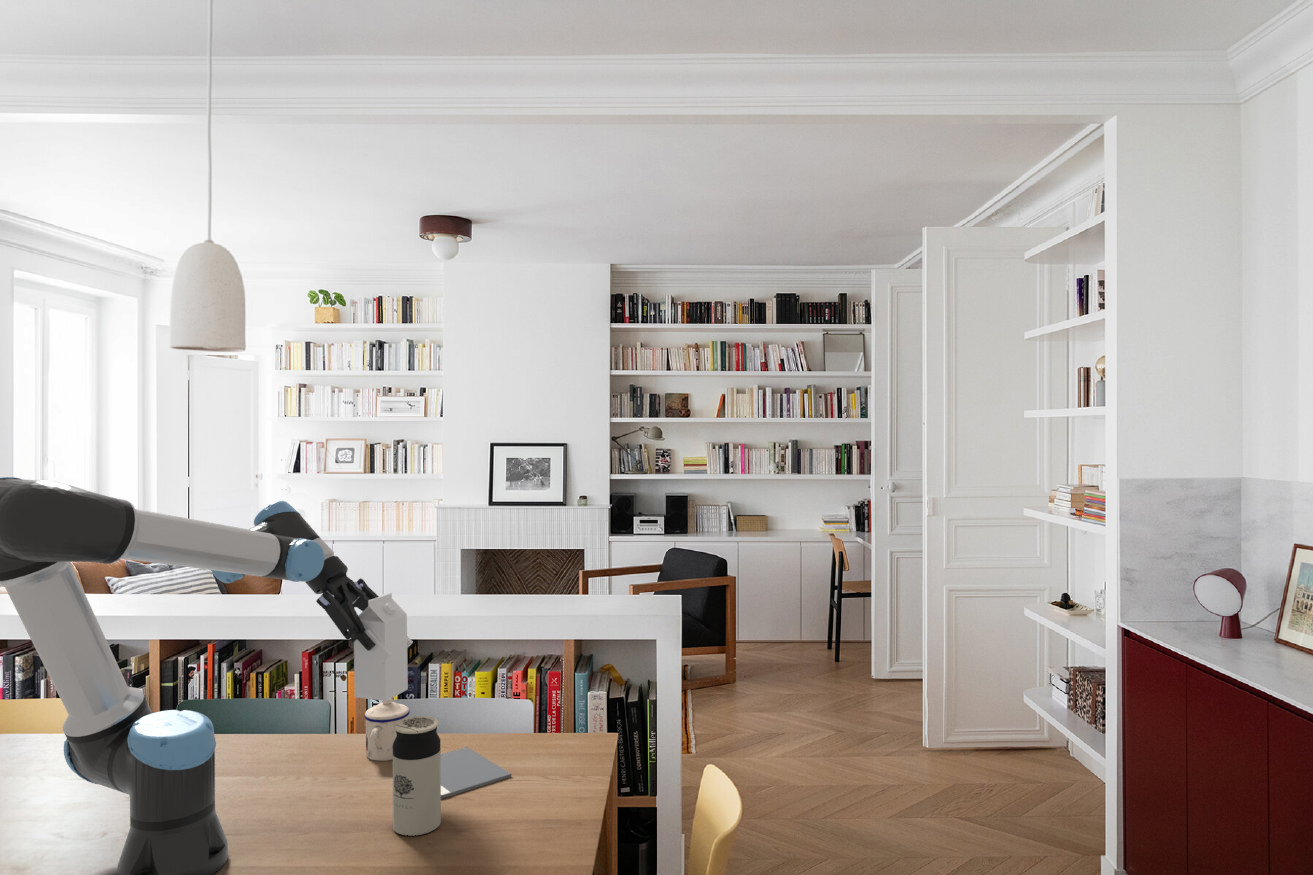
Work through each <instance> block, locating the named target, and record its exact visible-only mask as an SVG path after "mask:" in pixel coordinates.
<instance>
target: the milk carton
mask: <svg viewBox="0 0 1313 875" xmlns="http://www.w3.org/2000/svg"><path fill="white" fill-rule="evenodd" d="M392 594H393V592H389V593H386V594H383V595H381V596H379V597H377V598H374V599H371V600H368V607H367V608H366V609H365V610H364V611H361V612H360V614H358V616H359V618H360V620H361V622H362V624H363V626H364V628H365V631H364V632H366V631H367V630H368V629H370V631H371V632H372V633H373V634H374V635H375V636H376V637H377V638H378V639H379V641H380V642H381V643H382V644H383V645H384V646H385V647H386V648H387V649H388V651H389V652H390V653H391V654H392V655H391V656H390V657H389V658H388V659H387V660H386V661H385V662H384V663H383V664H382V665H380V664H379V663H378V662H377V660H376V659H375V658H374V657H373V656H372V655H371V654H370V653H369V652H368V650H366V649H365V647H364V646H363V645H362V644H361V643H360V642H359V641H358V640H356V641H355V642H353V661H354V662H353V672H354V673H353V674H354V678H353V679H354V698H358V699H366V700H367V699H368V700H374V701H375V700H376V701H381V702H382V701H387V700H389V699H393V698H394V697H396V696H398V695H400V694H402V693H404V692H406V691H408V690H409V689H408V688H409V684H408V683H409V682H408V678H409V676H408V675H409V674H408V671H409V670H408V669H409V668H408V648H407V636H408V615H407V613H406V612H405V610H403V608H402V607H401V606H400V605H399V604H398V603H397V602H396V601H395V600H394V599H393V598H392V596H393V595H392Z"/></svg>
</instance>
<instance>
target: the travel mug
mask: <svg viewBox="0 0 1313 875" xmlns="http://www.w3.org/2000/svg"><path fill="white" fill-rule="evenodd" d="M439 725H440V722H439V720H438V719H437V718H435V717H433V716H427V715H421V716H419V715H418V716H417V715H416V716H410V717H409V716H408V718H405V719H402V720H400V721H398V722H397V723H396V724H395V725H394V729H395V730H396V734H397V737H396V739H395V740H394V742H393V760H392V822H393V823H392V828H393V831H394V832H395V833H397V834H400V835H403V836H407V835H408V836H409V837H414V836H415V835H416V836H421V835H425V834H428V833H431V832H432V831H434V830H436V829H437V828H438V827H440V825H441V822H442V802H441V801H442V799H441V754H442V753H441V752H442V751H441V737H440V736H439V734H438V732H437V730H438V727H439ZM416 836H415V837H416Z"/></svg>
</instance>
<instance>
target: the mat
mask: <svg viewBox="0 0 1313 875" xmlns="http://www.w3.org/2000/svg"><path fill="white" fill-rule="evenodd" d="M509 778H512V773H511V772H509V771H507V770H506V769H504V767H501V766H499V765H497V764H496V763H494V762H492V761H491V760H489V759H488V758H486V757H485V756H483V755H481V754H480V753H478V752H476V751H475V750H473V749H472V748H469V747H468V746H466V747H463V748H459V749H456V750H451V751H447V752H445V753H441V800H442V799H446V798H448V797H451V796H455V795H458V794H462V793H465V792H468V791H471V790H473V789H476V788H477V789H478V788H482V787H483V786H486V785H489V784H493V783H496V782H499V781H502V780H505V779H509Z"/></svg>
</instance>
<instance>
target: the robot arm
mask: <svg viewBox="0 0 1313 875" xmlns="http://www.w3.org/2000/svg"><path fill="white" fill-rule="evenodd" d="M253 525H254V526H253V527H251V528H248V529H247V528H241V527H236V526H231V525H225V524H220V523H214V522H209V521H204V520H199V519H192V518H187V517H182V516H177V515H171V514H166V513H162V512H161V513H160V512H155V511H149V510H144V509H139V508H135V506H134V504H133V503H132V502H131V501H129V500H127V499H122V498H117V497H112V496H108V495H105V494H100V493H97V492H92V491H89V490H86V489H84V488H79V487H77V486H73V485H70V484H66V483H63V482H59V481H55V480H47V479H46V480H44V479H42V480H41V479H23V478H18V477H15V476H4V477H3V476H1V477H0V586H1V587H4V589H5V590H6V593H7V594H8V597H9V598H10V601H11V603H12V604H13V607H14V608H15V610H16V612H17V614H18V617H19V618H20V621H21V622H22V625H23V627H24V628H25V630H26V632H27V634H28V637H29V638H30V640H31V643H32V645H33V646H34V649H35V651H36V652H37V655H38V656H39V658H40V661H41V663H42V664H43V667H44V668H45V671H46V672H47V674H48V676H49V678H50V680H51V683H52V684H53V686H54V689H55V690H56V692H57V694H58V696H59V699H60V701H61V703H62V704H63V706H64V707H63V708H65V710H66V712H67V717H66V719H65V721H64V722H63V724H62V732H63V734H64V735H65V737H66V740H65V741H64V742H63V754H64V760H65V762H66V764H67V766H68V767H69V768H70V770H71V771H72V772H73V773H75V774H76V775H77V776H78V777H80V778H81V779H82V780H85V781H86V782H88V783H91V784H94V785H95V784H96V785H99V786H103V787H106V788H108V789H112V790H114V791H117V792H121V793H123V794H127V795H128V796H129V815H130V816H129V817H130V821H129V826H130V827H129V831H128V834H127V836H126V840H125V842H124V846H123V848H122V852H121V854H120V857H119V860H118V862H117V867H116V868H117V870H116V872H117V875H214V874H215V873H217V872H218V871H219V870H221V869H222V868H223V866H224V865H225V864H226V863H227V860H228V858H229V844H228V839H227V836H226V834H225V832H224V829H223V826H222V824H221V821H220V819H219V817H218V814H217V810H216V764H215V763H216V761H215V760H216V759H215V758H216V757H215V756H216V752H215V751H216V747H217V746H216V745H217V742H216V737H215V730H214V729H215V728H214V724H213V722H212V721H211V719H210V717H208V716H206V715H205V714H203V713H201V712H198V711H194V710H188V709H183V710H181V711H180V710H178V709H169V710H168V709H166V710H161V711H156V712H153V711H152V709H151V707H150V705H149V702H148V701H147V698H146V696H145V694H144V692H143V690H142V689H140V688H137V687H132V686H129V685H128V684H127V682H126V679H125V677H124V675H123V673H122V671H121V669H120V667H119V664H118V661H116V658H115V655H114V653H113V651H112V649H111V647H110V645H109V643H108V640H107V639H106V636H105V634H104V632H103V630H102V628H101V624H99V621H98V620H97V617H96V614H95V613H94V610H93V609H92V606H91V604H90V602H89V600H88V597H87V595H86V592H85V591H84V589H83V586H82V585H81V583H80V580H79V578H78V576H77V574H76V571H75V569H74V567H73V565H72V562H75V563H81V562H83V563H95V564H96V563H98V564H103V565H104V564H106V565H112V564H113V565H114V564H115V563H117V562H119V561H120V560H121V559H122V560H131V561H137V562H145V563H153V564H161V565H167V566H169V565H170V566H176V567H185V568H192V569H200V570H209V571H211V573H212V574H213V576H214V577H215V578H216V579H217V580H219V581H220V582H222V583H223V584H231V583H234V582H236V581H238V580H239V581H240V580H242V579H243V578H244V577H246V576H254V577H262V578H270V579H277V580H285V581H291V582H295V583H296V582H297V583H299V582H304V583H305V584H306V585H307V586H308V587H309V589H310V590H312V591H313V593H314V594H316V595H320V596H319V597H318V598H317V599H316V603H317V604H318V605H319V606H320V607H321V608H322V609H323V610H324V611H325V613H326V614H327V615H328V616H329V618H330V619H331V621H332V622H333V624H334V625H335V626H336V628H337V629H338V630H339V631H340V633H341V635H342V636H343V638H345V639H346V640H349V641H350V642H351V643H354V642H355V641H356V640H358V641H359V642H360V643H361V644H362V645H363V646H364V647H365V649H366V650H368V652H369V653H370V654H371V655H372V656H373V657H374V658H375V659H376V660H377V662H378V663H379V664H380V665H382V664H383V663H384V662H385V661H386V660H387V659H388V658H389V657H390V656H391V655H392V654H391V653H390V652H389V651H388V649H387V648H386V647H385V646H384V645H383V644H382V643H381V642H380V641H379V639H378V638H377V637H376V636H375V635H374V634H373V633H372V632H371V631H370V629H368V630H367V631H366V632H364V631H365V628H364V626H363V624H362V622H361V620H360V618H359V614H358V612H357V610H356V609H355V608H357V609H358V610H360V612H363V611H364V610H365V609H366V608H367V607H368V600H371V599H374V598H377V597H380V596H379V595H378V594H377V593H376V592H375V591H374V590H373V589H371V587H369V585H368V584H367V583H366V582H365V580H364V579H363V578H359V579H357V581H354V580H353V579H352V578H350V577H349V576H348V575H347V574H348V570H349V569H348V566H347V565H346V564H345V563H344V562H343V561H342V560H341V559H340V557H339V556H338V555H335V551H333V550H332V548H331V547H329V545H328V544H327V543H326V542H325V541H324V540H323V539H322V538H321V537H320V536H319V534H318V533H317V532H316V531H315V530H314V529H313V528H312V527H311V525H310V524H309V523H308V522H307V521H306V520H305V518H304V517H303V516H302V515H301V513H300V512H299V511H298V510H296V509H295V508H294V507H293V506H292V505H291V504H290V503H289V502H287V501H285V500H277V501H274V502H271V503H270V504H268V505H267V506H266V507H264V508H262V509H261V510H260V511H259V512H258V513H257V514H256V515H255V517H254V519H253ZM413 642H414V641H413V640H412V639H411V638H410V637H409V636H408V635H407V649H408V648H410V646H411V645H412V644H413ZM216 871H217V872H216Z"/></svg>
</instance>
